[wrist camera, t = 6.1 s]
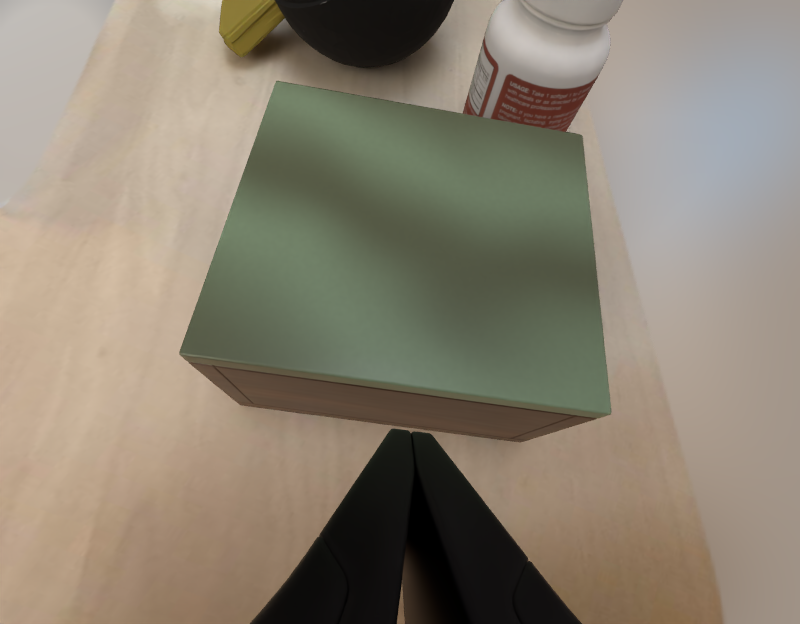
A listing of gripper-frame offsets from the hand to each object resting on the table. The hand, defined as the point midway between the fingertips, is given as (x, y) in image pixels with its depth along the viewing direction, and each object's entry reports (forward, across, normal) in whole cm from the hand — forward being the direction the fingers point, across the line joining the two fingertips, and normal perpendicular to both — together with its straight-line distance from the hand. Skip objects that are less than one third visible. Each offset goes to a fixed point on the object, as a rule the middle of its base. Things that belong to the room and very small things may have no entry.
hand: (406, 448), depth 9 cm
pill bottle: (+22, -5, -7) cm, 24 cm away
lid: (+9, 0, -3) cm, 9 cm away
